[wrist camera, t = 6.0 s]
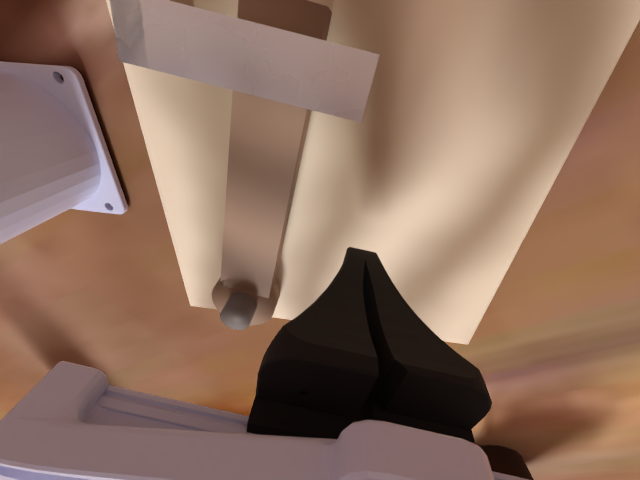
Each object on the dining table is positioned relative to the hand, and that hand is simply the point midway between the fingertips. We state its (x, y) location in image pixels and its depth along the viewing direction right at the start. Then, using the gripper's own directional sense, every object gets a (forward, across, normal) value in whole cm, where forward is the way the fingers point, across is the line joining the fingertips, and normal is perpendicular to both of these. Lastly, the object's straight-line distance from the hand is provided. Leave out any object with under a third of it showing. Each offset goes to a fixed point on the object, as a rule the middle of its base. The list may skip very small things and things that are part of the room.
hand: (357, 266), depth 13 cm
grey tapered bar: (+3, +5, -1) cm, 6 cm away
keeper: (+4, +6, -7) cm, 10 cm away
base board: (+4, +2, -2) cm, 5 cm away
